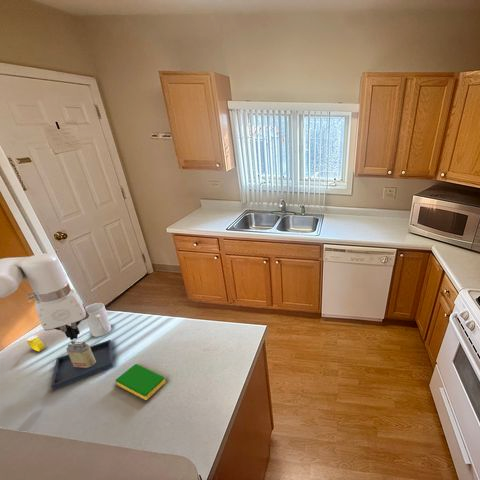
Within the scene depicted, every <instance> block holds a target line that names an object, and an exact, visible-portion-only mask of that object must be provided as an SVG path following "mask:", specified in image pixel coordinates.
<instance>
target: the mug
mask: <svg viewBox="0 0 480 480" xmlns="http://www.w3.org/2000/svg"><path fill="white" fill-rule="evenodd" d="M85 308H86V312H87V313H88V314H89V318H87V319H85V320H84V321H85V322H86V325H87V327H88V329H89V331H90V334H91V335H92V337H94V338H99V337H102V336H105V335H107V334H108V333H110V332H111V330H112V326H111V322H110V319H109V316H108V312H107V309H106V306H105V304H104V303H103V302H96V303H91V304H89V305H86V306H85Z"/></svg>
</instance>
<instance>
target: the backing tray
mask: <svg viewBox="0 0 480 480" xmlns="http://www.w3.org/2000/svg"><path fill="white" fill-rule="evenodd" d="M89 347H90V348H91V351H92V353H93V356H94V358H95V360H96V363H95V364H94V365H93V366H91V367H89V368H80V367H74V366H73V363H72V361H71V359H70V357H69V355H68V353H67V354H65V355H62V356H59V357H56V359H55V360H56V361H55V364H54V369H53V370H54V371H53V375H52V380H51V381H52V382H51V387H52V389H53V391H55V390H58V389H60V388H62V387H66V386H68V385H70V384H73V383H76V382H78V381H80V380H83V379H85V378H88V377H91V376H93V375H95V374H99V373H101V372H103V371H106V370H108V369H111V368H113V366H114V362H113V343H112V340H111V339H108V340H105V341H103V342H99V343H97V344H94V345H90V346H89Z"/></svg>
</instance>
